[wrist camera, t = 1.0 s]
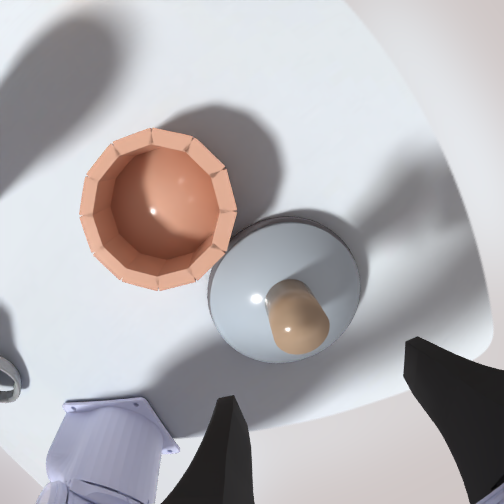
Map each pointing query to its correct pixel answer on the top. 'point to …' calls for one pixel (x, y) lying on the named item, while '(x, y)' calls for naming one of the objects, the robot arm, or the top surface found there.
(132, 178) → the bowl
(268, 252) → the lid
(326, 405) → the top surface
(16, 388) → the ceramic mug
